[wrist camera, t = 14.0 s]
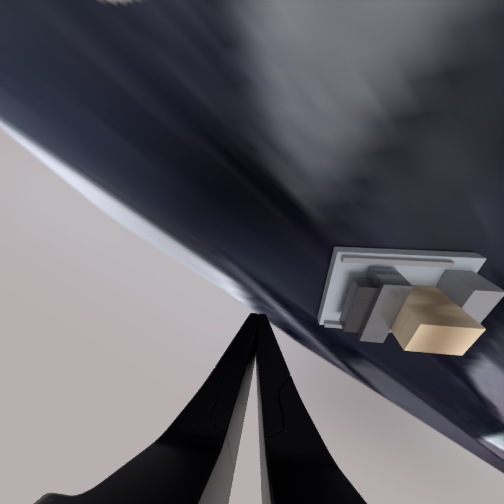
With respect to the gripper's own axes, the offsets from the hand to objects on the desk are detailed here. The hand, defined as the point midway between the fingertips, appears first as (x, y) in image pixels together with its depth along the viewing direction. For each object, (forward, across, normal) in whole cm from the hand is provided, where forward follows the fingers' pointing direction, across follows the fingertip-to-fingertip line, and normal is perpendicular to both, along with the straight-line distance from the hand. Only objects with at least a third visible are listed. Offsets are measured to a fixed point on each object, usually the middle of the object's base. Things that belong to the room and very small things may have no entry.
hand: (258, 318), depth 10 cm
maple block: (+11, -16, +7) cm, 20 cm away
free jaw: (+11, -11, +7) cm, 17 cm away
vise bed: (+12, -14, +7) cm, 20 cm away
